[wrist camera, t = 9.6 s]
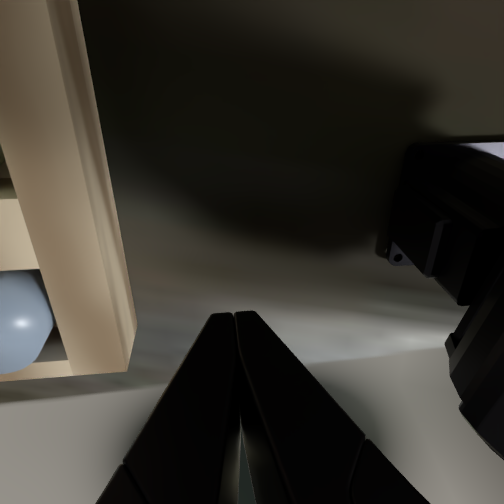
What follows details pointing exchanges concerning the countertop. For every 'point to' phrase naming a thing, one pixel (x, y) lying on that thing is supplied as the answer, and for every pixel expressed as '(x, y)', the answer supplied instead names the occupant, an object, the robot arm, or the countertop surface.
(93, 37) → the countertop surface
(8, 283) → the blue button
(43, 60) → the button panel
